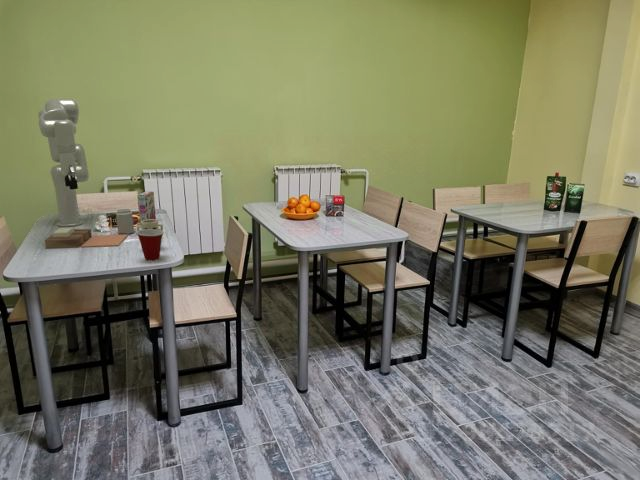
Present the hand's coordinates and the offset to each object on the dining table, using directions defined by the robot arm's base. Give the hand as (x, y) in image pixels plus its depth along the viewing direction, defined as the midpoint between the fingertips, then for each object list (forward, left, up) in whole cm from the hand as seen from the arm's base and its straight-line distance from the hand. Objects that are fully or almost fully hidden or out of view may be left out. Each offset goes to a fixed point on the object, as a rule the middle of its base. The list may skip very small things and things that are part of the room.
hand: (71, 187), depth 218 cm
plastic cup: (+30, +39, -26) cm, 55 cm away
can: (-13, +18, -26) cm, 34 cm away
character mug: (+16, +36, -26) cm, 47 cm away
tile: (+1, -6, -21) cm, 22 cm away
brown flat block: (+1, -4, -26) cm, 26 cm away
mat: (+1, +12, -26) cm, 28 cm away
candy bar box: (-34, +25, -26) cm, 49 cm away
